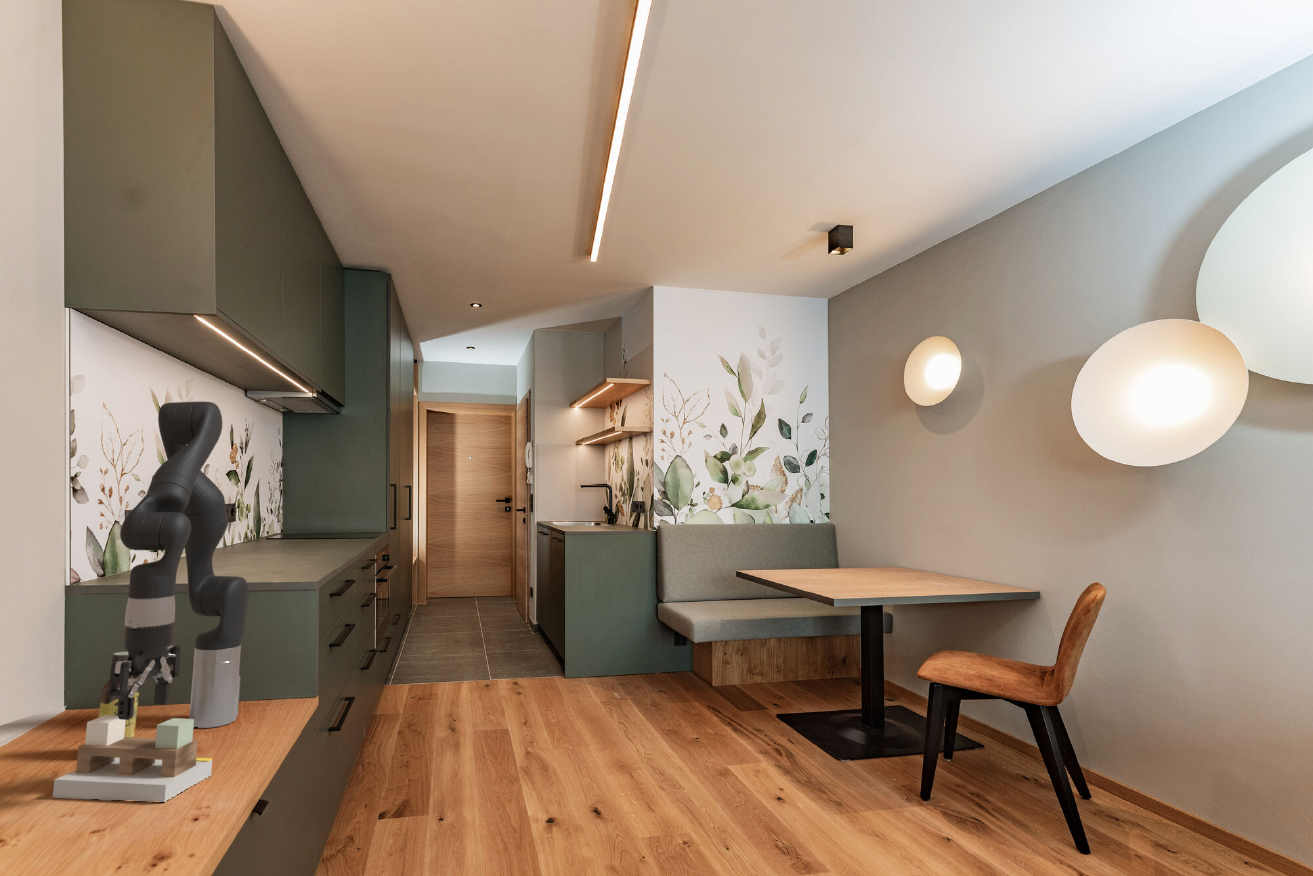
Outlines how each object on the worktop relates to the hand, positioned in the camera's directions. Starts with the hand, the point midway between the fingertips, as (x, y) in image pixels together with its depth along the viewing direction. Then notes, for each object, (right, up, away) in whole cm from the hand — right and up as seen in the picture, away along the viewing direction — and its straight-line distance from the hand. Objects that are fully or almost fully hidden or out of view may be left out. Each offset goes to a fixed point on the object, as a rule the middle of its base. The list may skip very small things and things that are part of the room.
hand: (143, 711), depth 130 cm
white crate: (-7, -5, 0) cm, 9 cm away
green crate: (+6, -6, -1) cm, 8 cm away
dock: (-1, -13, -1) cm, 13 cm away
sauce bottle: (-16, -14, +14) cm, 25 cm away
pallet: (-1, -10, -1) cm, 10 cm away
